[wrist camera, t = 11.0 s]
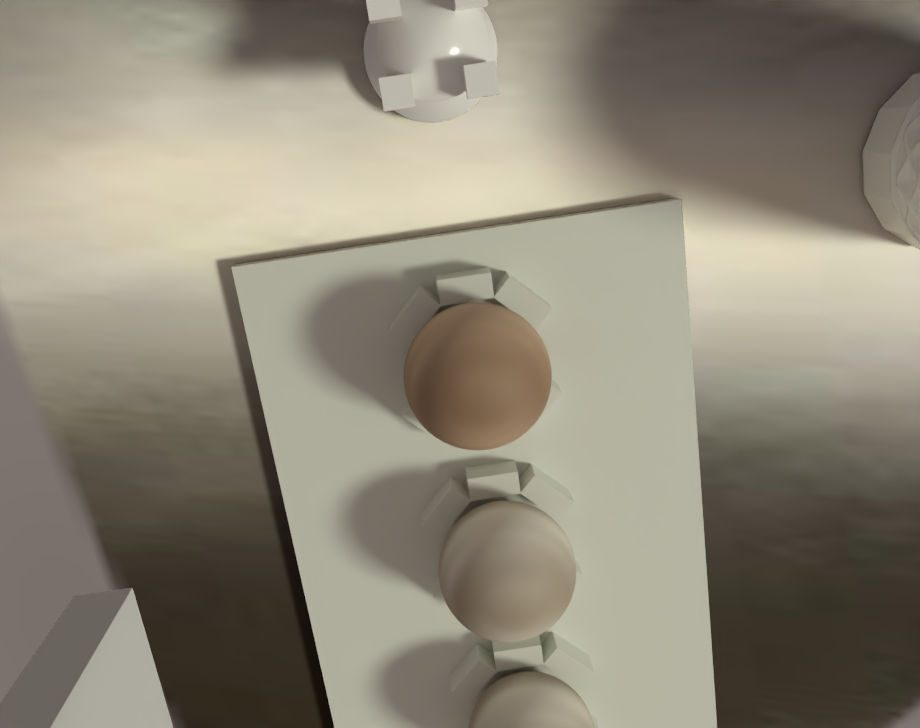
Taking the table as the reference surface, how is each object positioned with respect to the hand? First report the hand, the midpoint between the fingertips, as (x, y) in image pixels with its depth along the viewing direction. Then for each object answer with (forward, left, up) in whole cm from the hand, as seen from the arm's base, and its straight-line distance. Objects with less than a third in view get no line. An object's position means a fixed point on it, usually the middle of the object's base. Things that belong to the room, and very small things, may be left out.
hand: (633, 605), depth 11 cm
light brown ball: (+2, -1, -20) cm, 20 cm away
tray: (+9, -1, -20) cm, 23 cm away
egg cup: (-9, -1, -20) cm, 22 cm away
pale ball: (+17, -1, -20) cm, 26 cm away
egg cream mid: (+9, -1, -20) cm, 22 cm away
